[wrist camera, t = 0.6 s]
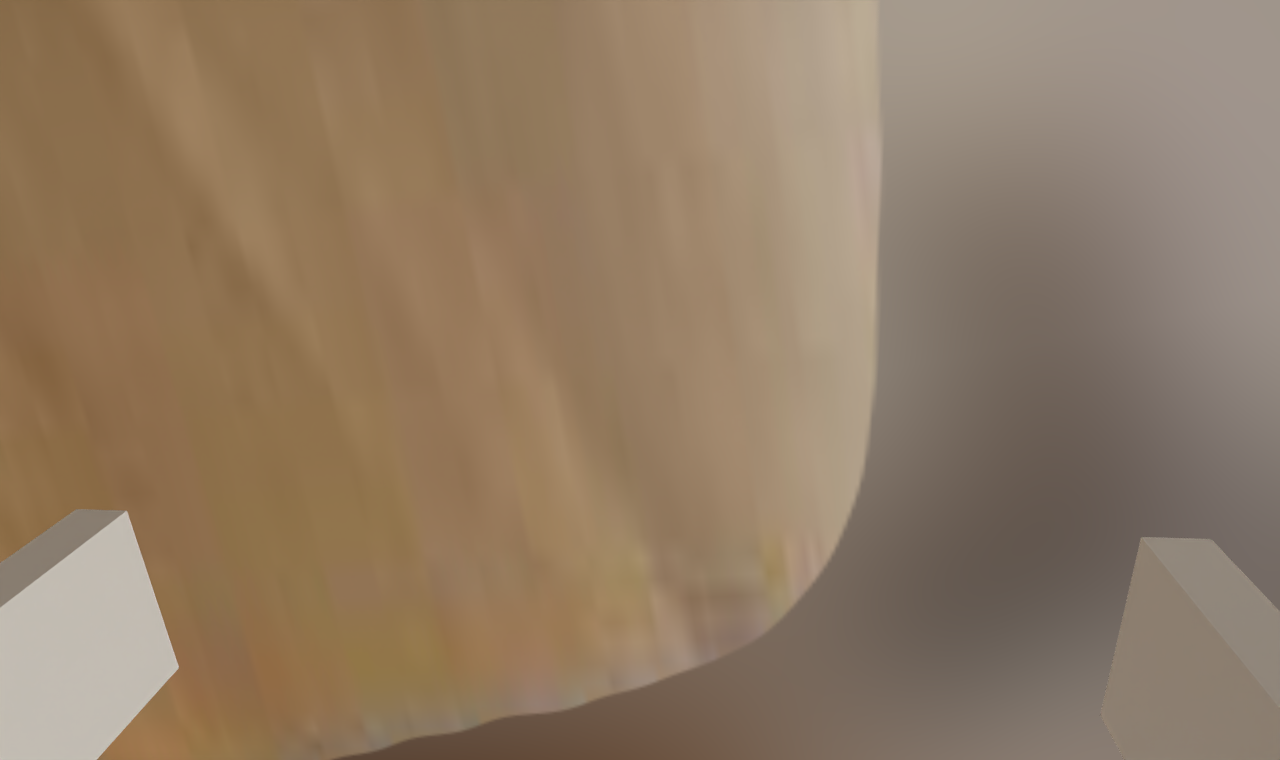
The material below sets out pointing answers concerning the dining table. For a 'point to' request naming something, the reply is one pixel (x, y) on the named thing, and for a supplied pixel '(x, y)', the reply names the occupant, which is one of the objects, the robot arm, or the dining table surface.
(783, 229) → the dining table surface
